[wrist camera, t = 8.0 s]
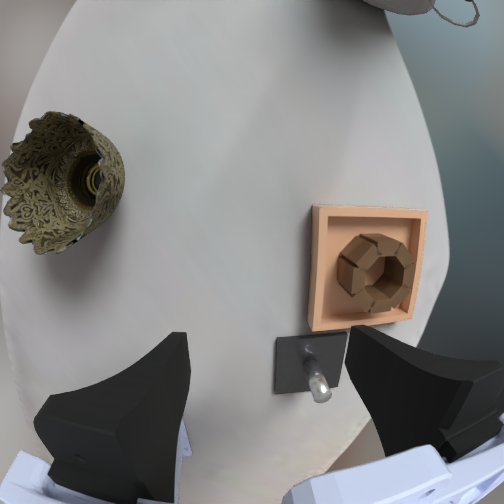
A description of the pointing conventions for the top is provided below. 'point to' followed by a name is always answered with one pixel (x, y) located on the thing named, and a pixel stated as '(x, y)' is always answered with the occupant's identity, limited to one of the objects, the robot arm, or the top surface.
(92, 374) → the top surface
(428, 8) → the coffee pot
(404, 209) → the dish
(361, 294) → the ring
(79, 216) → the cup
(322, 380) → the stand
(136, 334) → the top surface
